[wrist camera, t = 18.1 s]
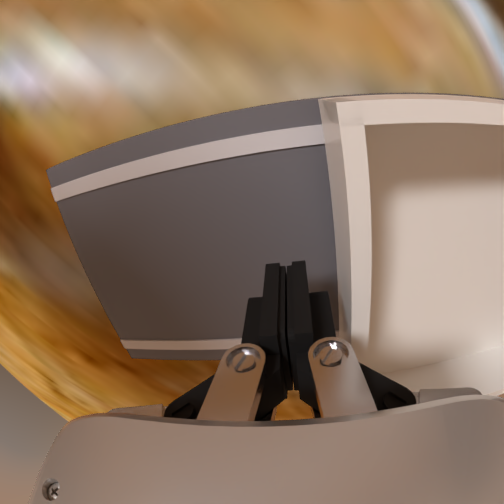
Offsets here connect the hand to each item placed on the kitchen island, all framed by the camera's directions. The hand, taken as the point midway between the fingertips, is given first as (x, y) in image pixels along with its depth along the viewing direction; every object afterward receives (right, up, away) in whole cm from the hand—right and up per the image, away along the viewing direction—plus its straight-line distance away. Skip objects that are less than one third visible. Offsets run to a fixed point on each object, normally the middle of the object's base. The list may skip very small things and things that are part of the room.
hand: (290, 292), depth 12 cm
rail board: (+5, +2, +2) cm, 6 cm away
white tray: (+12, +3, 0) cm, 12 cm away
